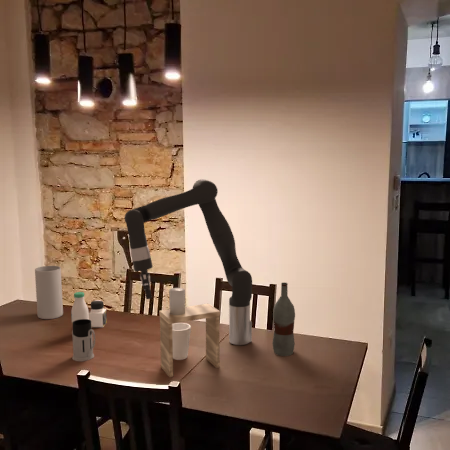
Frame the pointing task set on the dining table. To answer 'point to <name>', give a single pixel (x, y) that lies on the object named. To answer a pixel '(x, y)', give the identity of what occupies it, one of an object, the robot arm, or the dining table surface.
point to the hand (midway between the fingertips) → (149, 296)
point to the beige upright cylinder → (177, 301)
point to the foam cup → (180, 340)
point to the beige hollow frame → (190, 315)
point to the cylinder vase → (49, 292)
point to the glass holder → (82, 340)
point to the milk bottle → (79, 308)
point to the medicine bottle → (97, 314)
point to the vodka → (283, 324)
